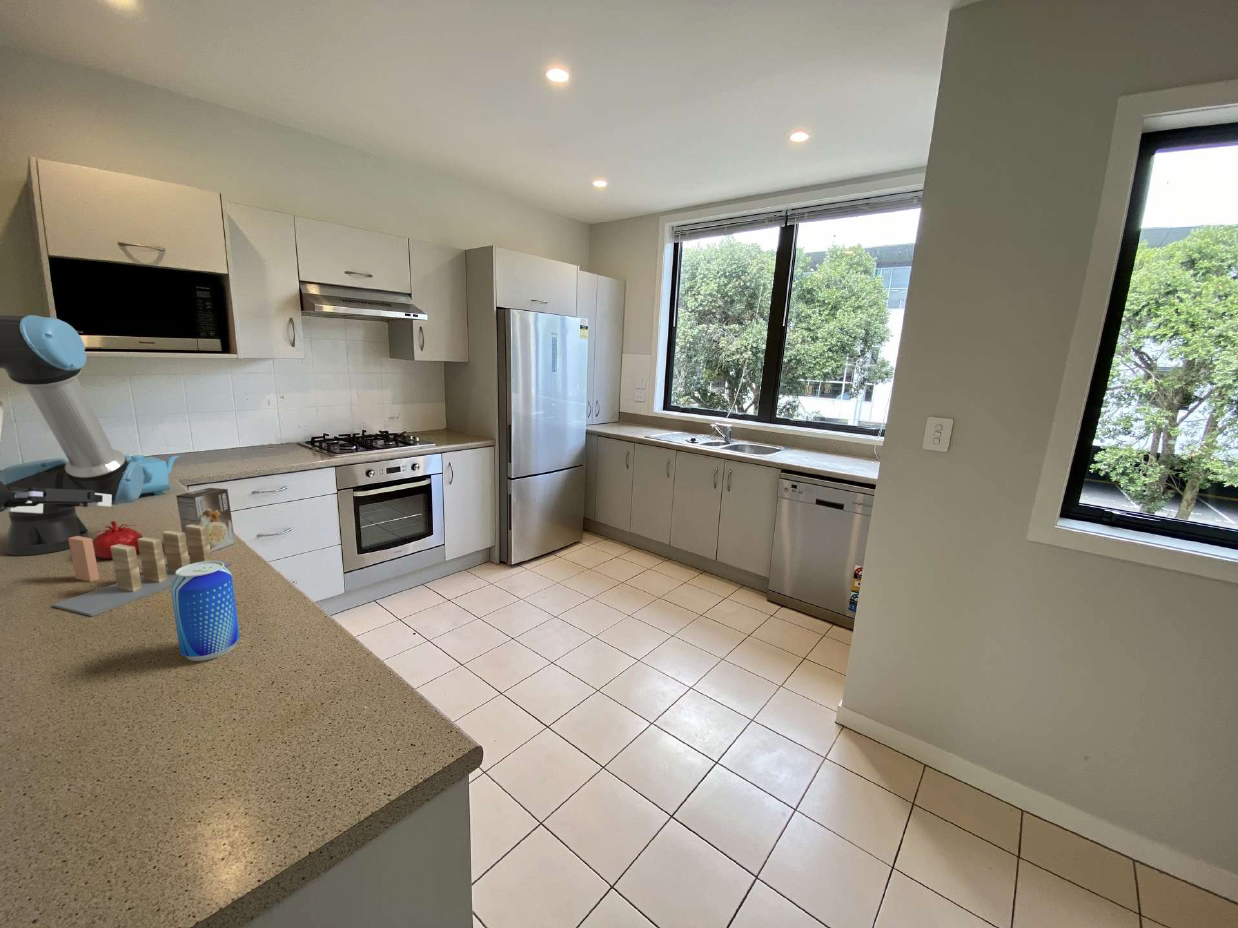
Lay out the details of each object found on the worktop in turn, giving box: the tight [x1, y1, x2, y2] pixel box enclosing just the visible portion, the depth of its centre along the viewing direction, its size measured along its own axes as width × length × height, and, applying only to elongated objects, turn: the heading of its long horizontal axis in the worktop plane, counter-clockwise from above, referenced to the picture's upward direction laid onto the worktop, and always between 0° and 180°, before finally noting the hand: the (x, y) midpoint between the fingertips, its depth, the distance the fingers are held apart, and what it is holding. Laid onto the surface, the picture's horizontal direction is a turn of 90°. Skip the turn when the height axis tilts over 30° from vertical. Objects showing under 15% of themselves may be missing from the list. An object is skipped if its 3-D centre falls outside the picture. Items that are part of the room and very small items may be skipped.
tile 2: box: [110, 544, 142, 592], centre depth 110 cm, size 2×5×10 cm, turn 74°
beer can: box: [169, 560, 241, 662], centre depth 89 cm, size 8×8×16 cm
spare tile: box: [68, 536, 100, 583], centre depth 116 cm, size 2×5×10 cm, turn 74°
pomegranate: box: [92, 520, 144, 560], centre depth 130 cm, size 10×10×9 cm
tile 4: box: [161, 529, 190, 573], centre depth 120 cm, size 2×5×10 cm, turn 74°
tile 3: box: [138, 536, 167, 583], centre depth 115 cm, size 2×5×10 cm, turn 74°
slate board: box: [51, 558, 233, 617], centre depth 115 cm, size 12×28×1 cm, turn 164°
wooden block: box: [185, 524, 212, 564], centre depth 125 cm, size 2×5×10 cm, turn 74°
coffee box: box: [175, 487, 236, 554], centre depth 136 cm, size 9×6×16 cm
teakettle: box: [124, 454, 181, 499], centre depth 184 cm, size 19×19×15 cm
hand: (75, 504), depth 111 cm, fingers open, 13 cm apart
